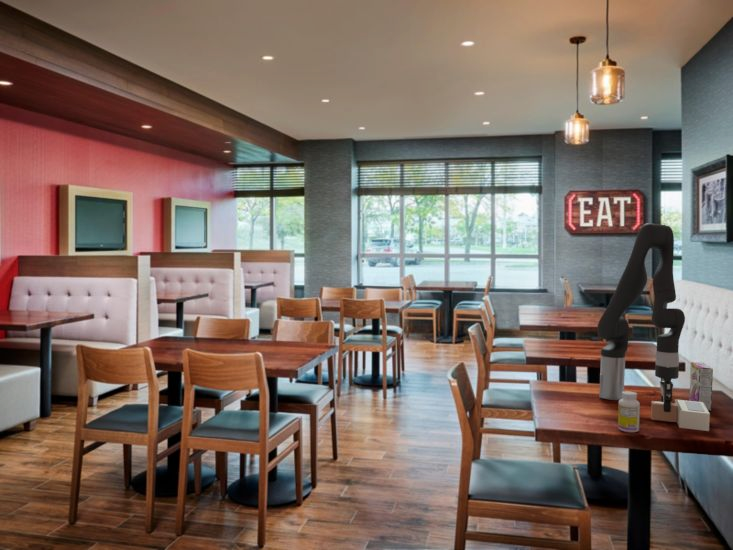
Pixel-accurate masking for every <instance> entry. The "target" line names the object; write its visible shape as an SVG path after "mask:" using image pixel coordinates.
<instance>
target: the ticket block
mask: <svg viewBox="0 0 733 550" xmlns="http://www.w3.org/2000/svg"><path fill="white" fill-rule="evenodd" d="M674 403H676V404H677V422H676V423H677V425H678V428H679V429H686V430H687V429H689V430H697V431H706V432H709V431H710V418H711V417H710V416H711V413H710V412H709V410H707V408H706V407H705V405H704V403H703V402H696V401H689V400H683V399H674Z"/></svg>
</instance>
